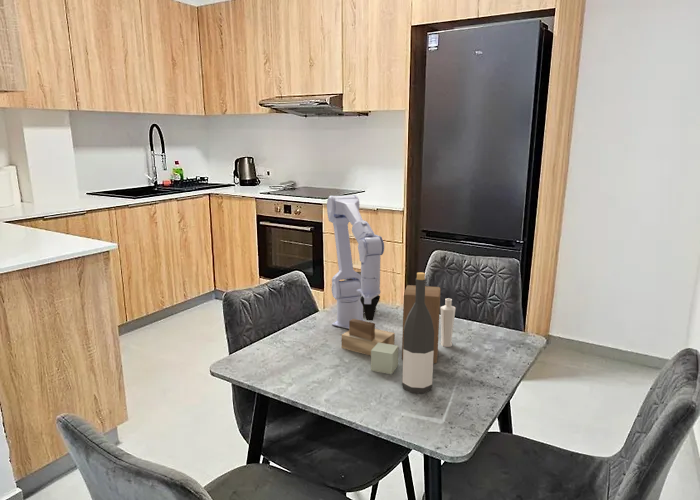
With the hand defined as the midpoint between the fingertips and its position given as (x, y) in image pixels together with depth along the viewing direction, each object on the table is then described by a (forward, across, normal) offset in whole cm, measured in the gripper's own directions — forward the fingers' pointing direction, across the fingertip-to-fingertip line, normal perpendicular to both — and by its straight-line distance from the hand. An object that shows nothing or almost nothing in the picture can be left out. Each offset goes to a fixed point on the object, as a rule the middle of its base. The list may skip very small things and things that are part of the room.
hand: (369, 319), depth 148 cm
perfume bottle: (+9, -4, +24) cm, 25 cm away
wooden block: (+9, +4, +16) cm, 18 cm away
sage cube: (+9, +14, +6) cm, 18 cm away
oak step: (+9, +1, 0) cm, 9 cm away
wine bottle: (+9, +24, +15) cm, 29 cm away
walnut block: (+4, +4, -2) cm, 6 cm away
